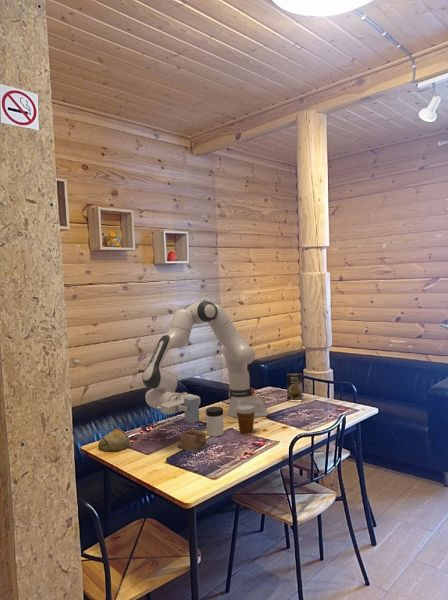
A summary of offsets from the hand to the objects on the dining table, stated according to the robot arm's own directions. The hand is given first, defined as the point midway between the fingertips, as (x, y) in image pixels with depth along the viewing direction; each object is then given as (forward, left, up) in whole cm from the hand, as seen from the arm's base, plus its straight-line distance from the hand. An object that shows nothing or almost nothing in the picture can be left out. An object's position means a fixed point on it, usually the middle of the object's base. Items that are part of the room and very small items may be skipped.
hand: (192, 407), depth 195 cm
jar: (-9, -16, -18) cm, 26 cm away
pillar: (+1, -1, -6) cm, 6 cm away
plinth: (+1, -1, -18) cm, 18 cm away
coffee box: (-57, -67, -18) cm, 90 cm away
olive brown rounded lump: (+36, -5, -18) cm, 40 cm away
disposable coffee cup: (-24, -17, -18) cm, 35 cm away
